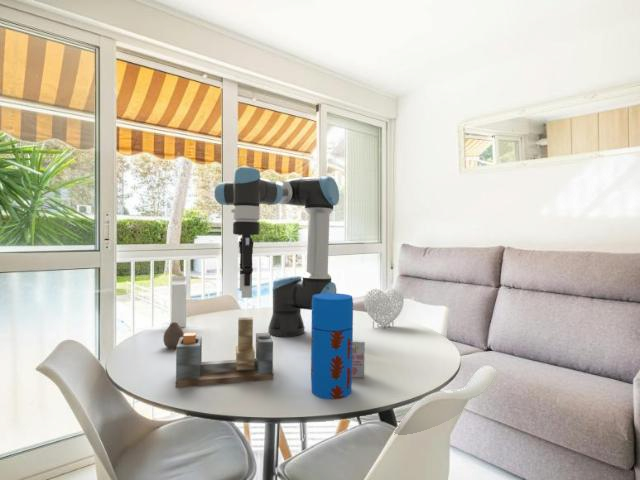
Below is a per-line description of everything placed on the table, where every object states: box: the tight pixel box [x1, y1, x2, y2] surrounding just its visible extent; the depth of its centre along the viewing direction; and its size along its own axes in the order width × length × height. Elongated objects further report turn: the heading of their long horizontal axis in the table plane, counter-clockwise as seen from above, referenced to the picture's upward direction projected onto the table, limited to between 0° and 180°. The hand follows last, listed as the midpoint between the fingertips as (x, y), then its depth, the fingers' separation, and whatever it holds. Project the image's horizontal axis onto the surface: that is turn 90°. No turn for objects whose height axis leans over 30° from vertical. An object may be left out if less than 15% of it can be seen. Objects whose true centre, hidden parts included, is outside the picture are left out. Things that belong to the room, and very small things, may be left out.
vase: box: [163, 322, 185, 350], centre depth 137 cm, size 7×7×9 cm
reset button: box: [183, 332, 197, 344], centre depth 108 cm, size 3×3×2 cm
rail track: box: [175, 332, 274, 388], centre depth 111 cm, size 26×12×11 cm, turn 104°
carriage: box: [235, 316, 256, 370], centre depth 112 cm, size 5×7×14 cm
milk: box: [170, 275, 187, 328], centre depth 169 cm, size 6×6×22 cm
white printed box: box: [352, 341, 366, 380], centre depth 112 cm, size 4×7×10 cm, turn 85°
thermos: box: [310, 292, 354, 400], centre depth 101 cm, size 11×11×25 cm
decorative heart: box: [363, 288, 405, 328], centre depth 172 cm, size 18×11×17 cm, turn 97°
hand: (245, 294), depth 112 cm, fingers open, 13 cm apart
